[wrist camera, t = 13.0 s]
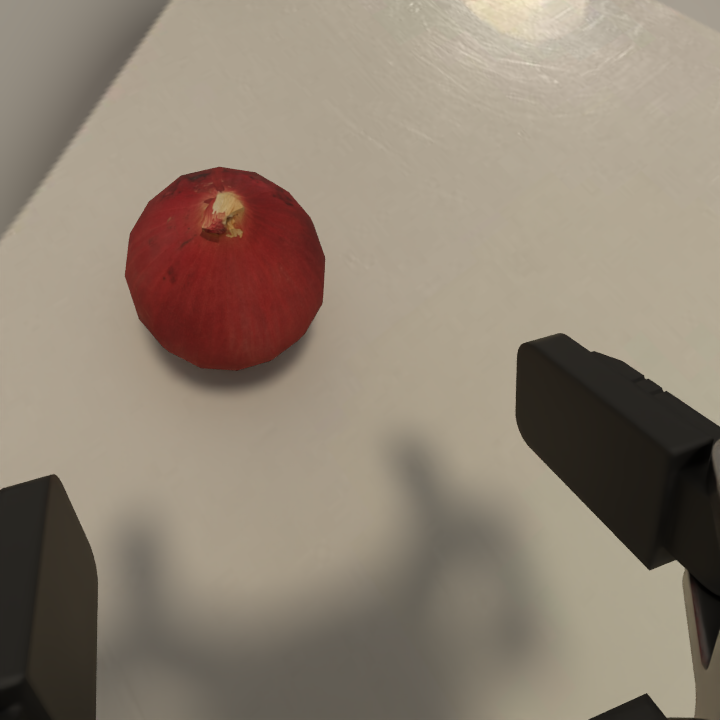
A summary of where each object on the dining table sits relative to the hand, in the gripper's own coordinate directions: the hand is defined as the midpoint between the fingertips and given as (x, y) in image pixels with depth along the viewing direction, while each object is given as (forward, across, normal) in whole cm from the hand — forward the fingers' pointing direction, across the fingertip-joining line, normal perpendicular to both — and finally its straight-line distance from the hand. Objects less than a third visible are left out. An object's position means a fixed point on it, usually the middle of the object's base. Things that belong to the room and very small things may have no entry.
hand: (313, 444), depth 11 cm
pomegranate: (+12, 0, +3) cm, 13 cm away
